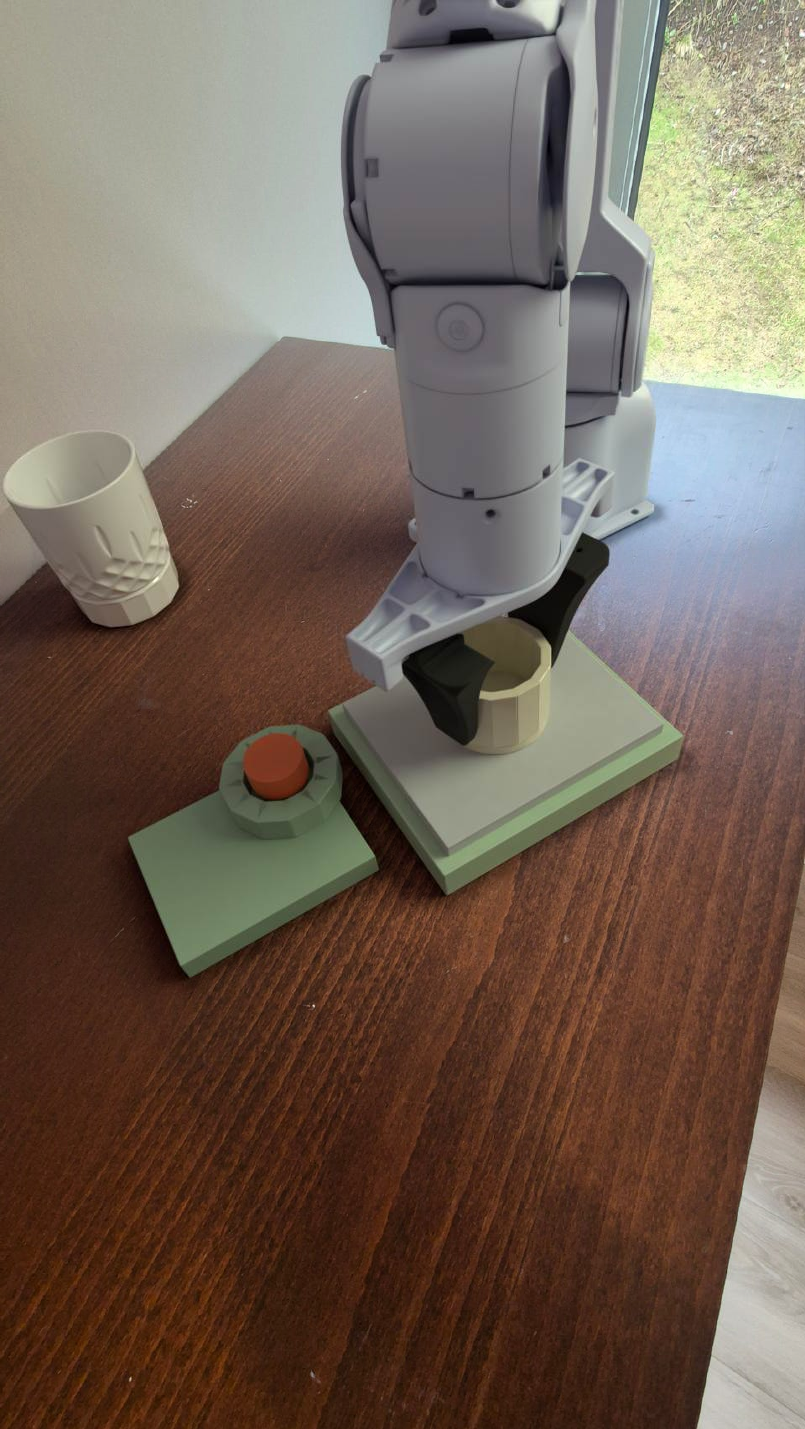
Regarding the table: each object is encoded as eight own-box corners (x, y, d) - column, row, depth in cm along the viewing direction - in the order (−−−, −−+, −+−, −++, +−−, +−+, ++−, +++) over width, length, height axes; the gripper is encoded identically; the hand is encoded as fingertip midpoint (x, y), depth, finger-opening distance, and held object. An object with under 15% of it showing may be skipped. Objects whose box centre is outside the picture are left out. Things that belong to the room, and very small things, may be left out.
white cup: (162, 638, 52) (99, 509, 45) (54, 631, 54) (-25, 506, 46) (204, 558, 57) (155, 429, 49) (104, 554, 59) (41, 429, 51)
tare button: (294, 742, 42) (287, 723, 41) (319, 781, 40) (313, 763, 39) (241, 769, 41) (232, 750, 40) (264, 810, 40) (256, 792, 38)
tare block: (317, 742, 45) (305, 707, 43) (396, 860, 40) (388, 828, 38) (131, 837, 43) (109, 806, 40) (189, 978, 37) (167, 951, 35)
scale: (538, 627, 49) (539, 592, 47) (678, 759, 42) (686, 725, 40) (333, 733, 46) (323, 700, 43) (446, 896, 38) (442, 867, 36)
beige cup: (489, 657, 44) (486, 600, 41) (572, 707, 41) (575, 649, 38) (420, 717, 42) (411, 661, 39) (502, 774, 39) (499, 718, 36)
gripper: (526, 344, 35) (526, 584, 45) (267, 512, 29) (335, 742, 40) (670, 391, 31) (634, 640, 42) (405, 593, 26) (440, 823, 36)
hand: (495, 695), depth 40 cm, fingers closed on beige cup, 5 cm apart
